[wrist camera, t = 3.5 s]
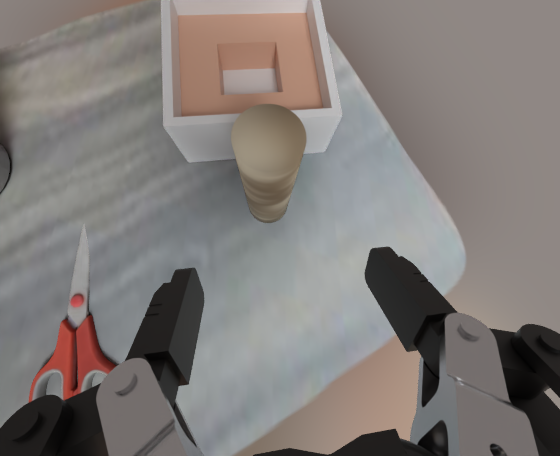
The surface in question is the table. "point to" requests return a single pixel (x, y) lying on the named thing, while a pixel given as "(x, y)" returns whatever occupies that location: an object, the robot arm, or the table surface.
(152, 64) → the table surface
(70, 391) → the scissors
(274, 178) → the peg
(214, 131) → the box
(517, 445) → the robot arm
